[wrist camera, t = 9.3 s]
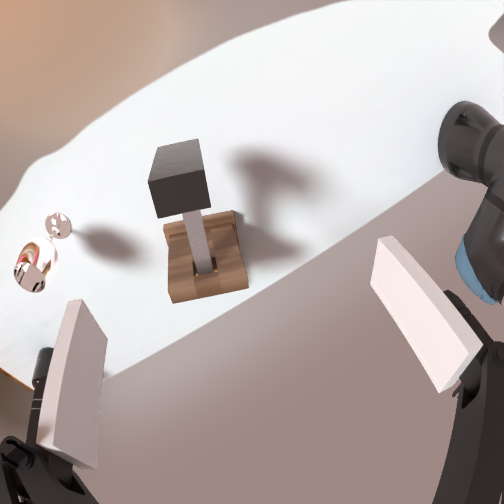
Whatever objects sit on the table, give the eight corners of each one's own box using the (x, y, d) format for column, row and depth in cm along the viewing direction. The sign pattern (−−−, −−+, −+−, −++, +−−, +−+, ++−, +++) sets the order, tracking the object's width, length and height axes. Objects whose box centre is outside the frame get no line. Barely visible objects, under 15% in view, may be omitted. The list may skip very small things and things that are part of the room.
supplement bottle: (34, 345, 50) (23, 391, 40) (60, 347, 52) (50, 395, 42) (45, 363, 54) (37, 407, 44) (70, 365, 55) (63, 410, 46)
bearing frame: (163, 224, 41) (160, 285, 31) (232, 210, 43) (251, 266, 32) (180, 277, 47) (183, 341, 37) (240, 264, 49) (259, 325, 38)
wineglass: (73, 245, 40) (50, 300, 30) (41, 237, 38) (12, 289, 28) (76, 212, 37) (49, 264, 28) (42, 204, 35) (8, 253, 25)
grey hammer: (157, 147, 27) (147, 181, 19) (198, 138, 27) (204, 169, 20) (189, 271, 36) (194, 328, 29) (222, 264, 36) (234, 320, 29)
